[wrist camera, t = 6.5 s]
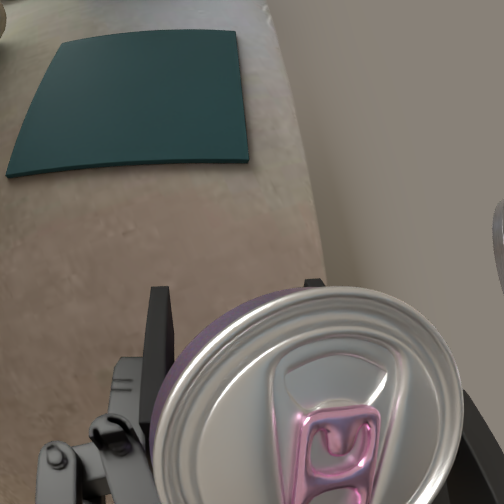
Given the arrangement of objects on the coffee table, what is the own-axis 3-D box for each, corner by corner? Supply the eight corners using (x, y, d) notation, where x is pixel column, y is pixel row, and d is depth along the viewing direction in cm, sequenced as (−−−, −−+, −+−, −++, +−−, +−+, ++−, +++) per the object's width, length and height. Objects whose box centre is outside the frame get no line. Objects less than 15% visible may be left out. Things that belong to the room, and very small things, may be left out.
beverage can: (180, 418, 16) (153, 589, 2) (185, 324, 18) (149, 254, 4) (276, 421, 17) (442, 536, 3) (280, 331, 19) (471, 281, 5)
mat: (234, 34, 30) (235, 30, 30) (248, 163, 25) (249, 159, 24) (62, 46, 26) (61, 42, 25) (7, 178, 20) (4, 175, 20)
